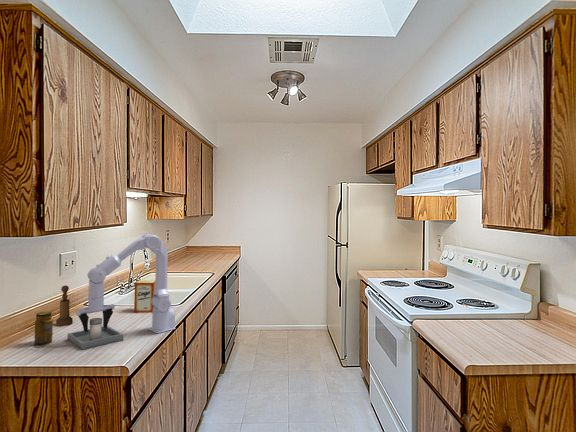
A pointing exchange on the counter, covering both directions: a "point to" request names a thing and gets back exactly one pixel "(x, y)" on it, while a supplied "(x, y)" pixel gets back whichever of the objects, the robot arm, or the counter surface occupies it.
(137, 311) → the spice box
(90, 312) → the robot arm
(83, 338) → the tray
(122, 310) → the counter surface
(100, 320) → the shaker
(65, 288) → the brown pepper mill
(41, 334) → the condiment
